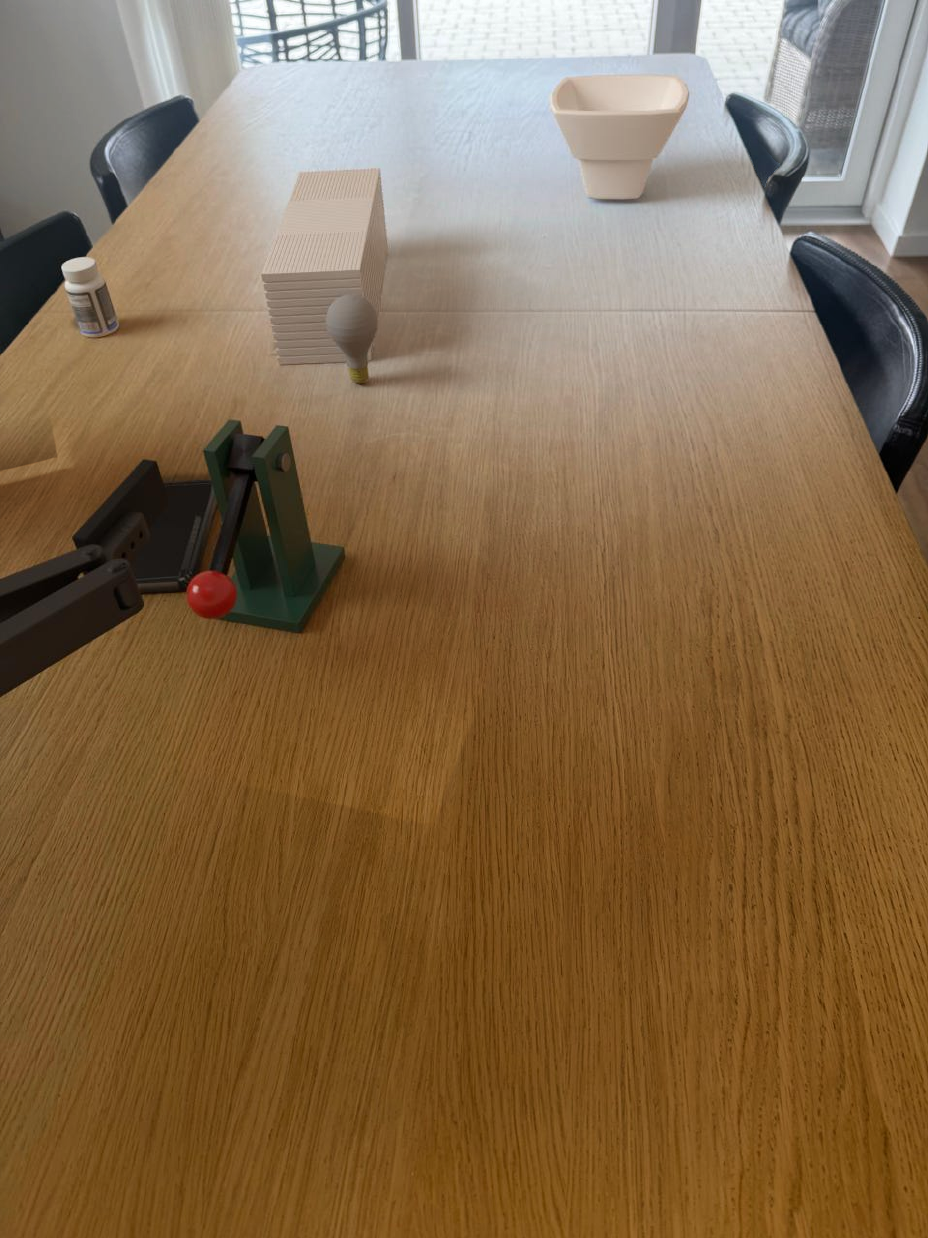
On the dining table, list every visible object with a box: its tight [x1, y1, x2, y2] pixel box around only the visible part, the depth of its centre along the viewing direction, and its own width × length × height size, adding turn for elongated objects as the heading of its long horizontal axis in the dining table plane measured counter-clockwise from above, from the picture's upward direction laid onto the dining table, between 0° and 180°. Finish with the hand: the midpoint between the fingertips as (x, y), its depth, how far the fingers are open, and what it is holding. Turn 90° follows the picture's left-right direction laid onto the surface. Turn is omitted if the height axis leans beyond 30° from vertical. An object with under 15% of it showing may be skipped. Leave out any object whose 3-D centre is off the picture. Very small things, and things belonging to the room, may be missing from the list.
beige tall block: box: [261, 167, 389, 365], centre depth 119 cm, size 32×11×11 cm, turn 0°
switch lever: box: [185, 433, 266, 620], centre depth 72 cm, size 14×4×4 cm
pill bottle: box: [61, 256, 120, 339], centre depth 117 cm, size 5×5×8 cm
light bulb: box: [326, 294, 379, 385], centre depth 104 cm, size 5×5×10 cm
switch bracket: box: [202, 418, 347, 634], centre depth 77 cm, size 10×8×15 cm
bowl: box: [549, 73, 691, 200], centre depth 140 cm, size 19×19×14 cm
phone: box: [130, 479, 218, 594], centre depth 88 cm, size 8×1×15 cm
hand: (44, 465), depth 52 cm, fingers open, 13 cm apart
